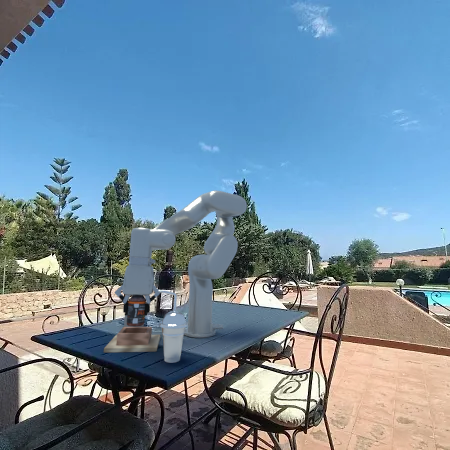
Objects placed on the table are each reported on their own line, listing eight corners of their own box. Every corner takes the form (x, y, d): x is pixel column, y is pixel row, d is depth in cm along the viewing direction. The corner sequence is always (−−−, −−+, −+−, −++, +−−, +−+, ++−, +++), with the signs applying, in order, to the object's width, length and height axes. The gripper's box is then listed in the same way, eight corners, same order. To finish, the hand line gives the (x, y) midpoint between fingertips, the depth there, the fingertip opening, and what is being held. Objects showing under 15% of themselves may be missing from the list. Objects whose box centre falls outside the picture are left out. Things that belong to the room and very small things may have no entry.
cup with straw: (176, 367, 76) (179, 292, 78) (149, 361, 79) (153, 290, 82) (192, 357, 83) (194, 289, 86) (167, 353, 87) (170, 288, 90)
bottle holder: (160, 337, 104) (161, 324, 105) (156, 351, 88) (157, 336, 89) (115, 338, 102) (116, 325, 102) (103, 352, 86) (104, 336, 87)
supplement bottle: (139, 327, 92) (141, 292, 94) (122, 326, 93) (125, 291, 95) (147, 323, 98) (149, 291, 100) (132, 322, 99) (134, 290, 101)
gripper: (165, 263, 104) (162, 313, 101) (117, 261, 101) (112, 312, 99) (164, 263, 96) (160, 317, 94) (112, 261, 94) (107, 316, 91)
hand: (136, 314), depth 96 cm, fingers closed on supplement bottle, 5 cm apart
